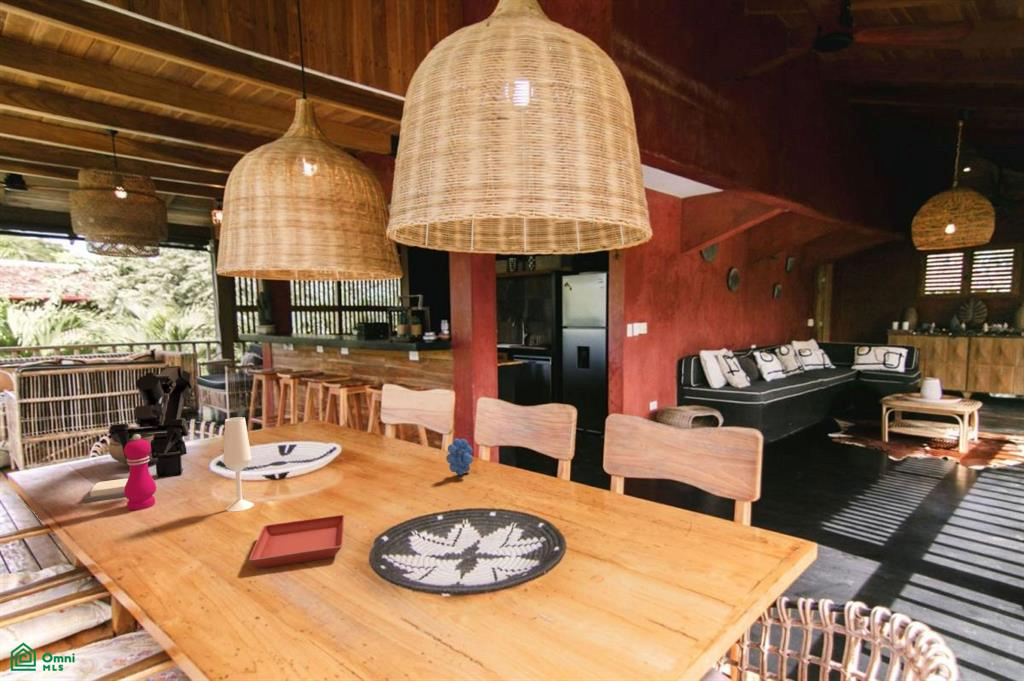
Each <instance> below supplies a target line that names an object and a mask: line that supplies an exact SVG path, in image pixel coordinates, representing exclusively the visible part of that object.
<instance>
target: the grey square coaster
mask: <svg viewBox="0 0 1024 681" xmlns="http://www.w3.org/2000/svg"><path fill="white" fill-rule="evenodd" d="M128 478H129V477H127V478H119V479H114V480H113V479H111V480H106V481H105V480H104V481H98V482H97V483H96V484H95V485H94V486H93V487H92V488H91V489H90V490H89V491H88V492H87V493H86V494H85V496H84V497H82V502H83V504H86V503H93V502H100V501H106V500H113V499H120V498H126V497H125V496H124V489H125V485H126V483H127V481H128Z"/></svg>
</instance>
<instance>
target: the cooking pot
mask: <svg viewBox="0 0 1024 681" xmlns="http://www.w3.org/2000/svg"><path fill="white" fill-rule="evenodd" d="M130 427H131V426H129V428H130ZM133 427H139V425H135V426H133ZM154 434H155V433H151V434H148V433H145V434H139V435H140V436H141V438H140V439H143V440H146V441H148V442H149V443H150V445H151V440H153V437H154ZM134 435H135V434H133V435H132V437H131V439H130V441H133V440H134V439H133V436H134ZM110 438H111V439H110V441H109V444H108V448H107V449H108V453H109V455H110V456H111V458H112V459H113V460H115V461H116V462H119V463H122V464H125V465H128V464H127V463H128V461H127V459H128V457H127V458H125V457H124V453H123V448H122V444H119V443H118V442H114V441H113V439H112V437H110ZM148 456H149V462H148V466H149V465H153V464H156V462H157V461H158V458H155V459H153V457H152V452H151V451H150V452H149V454H148Z"/></svg>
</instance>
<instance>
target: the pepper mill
mask: <svg viewBox="0 0 1024 681" xmlns="http://www.w3.org/2000/svg"><path fill="white" fill-rule="evenodd" d="M140 438H141V436H140V435H139V434H135V435H134V436H133V439H134V440H133V441H130V442H129V443H127V444H126V446H125V448H124V454H125V455H126V456H127V457H128V459H127V461H128V463H127V464H126V465H128V467H129V476H128V477H127V478H128V481H127V483H126V485H125V489H124V496H125V497H124V498H126V499H127V500H128V501H127V502H126V507H127V510H129V511H139V510H140V511H141V510H144V509H148V508H150V507H153V506H154V505H155V504H156V498H155V496H154V495H155V493H156V491H157V486H156V485H157V484H156V482H155V480H154V478H153V477H152V475H151V472H150V471H149V465H148V462H149V456H148V454H149V452H150V451H151V445H150V443H149V442H148V441H146V440H143V439H140Z"/></svg>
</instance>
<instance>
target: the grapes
mask: <svg viewBox="0 0 1024 681" xmlns="http://www.w3.org/2000/svg"><path fill="white" fill-rule="evenodd" d="M447 452H448V454H447V455H446V457H445V459H446V462H447V463H448V464H449V470H450V472H452V473H456V475H457V476H462V475H464V473H468V472H469V471H470V469H471V466H470V464H472V463H473V462H474V457H473V455H471V454H472V453H473V447H472V446H471V445H469V442H468V440H467V439H466V438H461V439H459V438H457V437H456V438H454V439H453V441H452V443H451V444H449V445H448V446H447Z"/></svg>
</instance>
